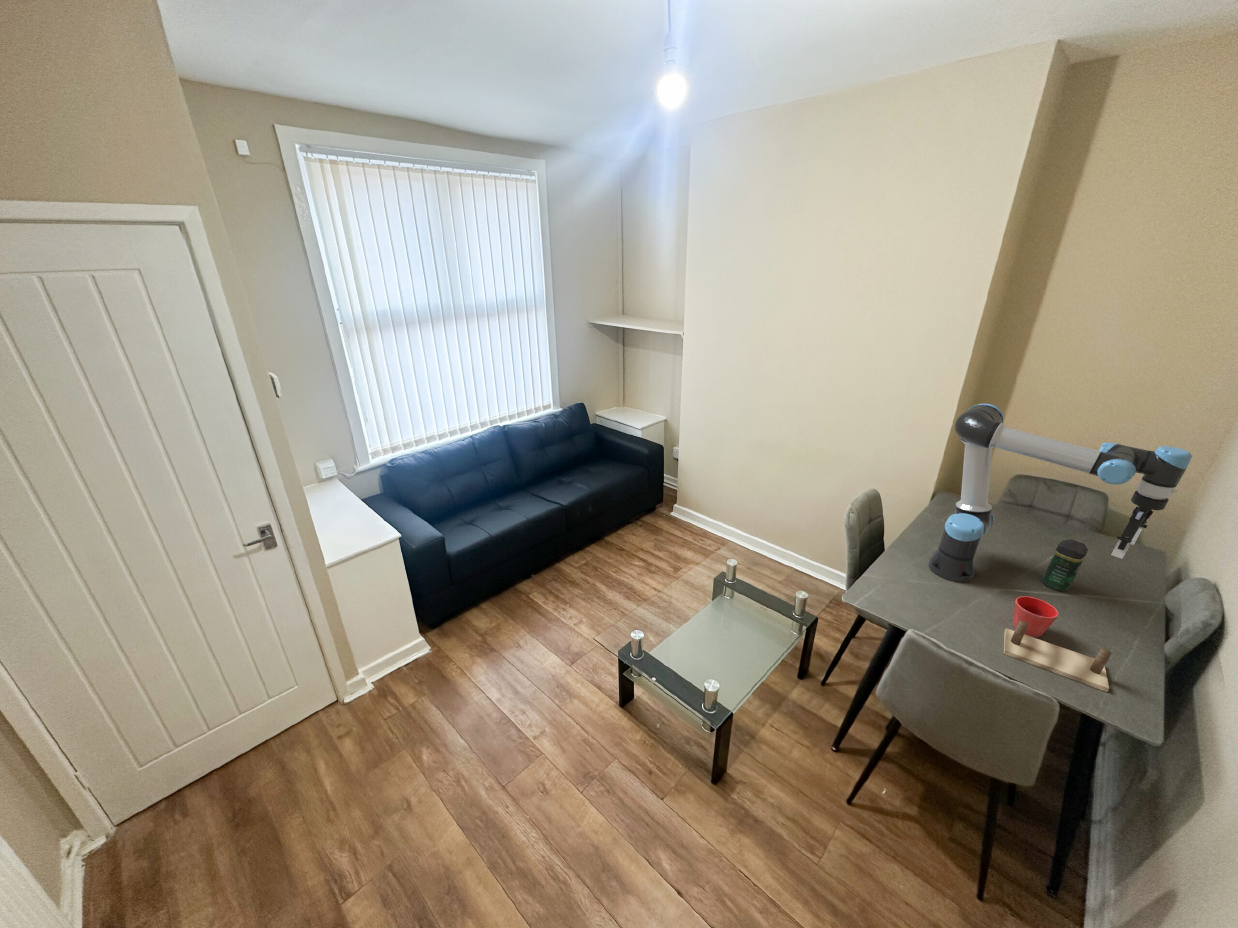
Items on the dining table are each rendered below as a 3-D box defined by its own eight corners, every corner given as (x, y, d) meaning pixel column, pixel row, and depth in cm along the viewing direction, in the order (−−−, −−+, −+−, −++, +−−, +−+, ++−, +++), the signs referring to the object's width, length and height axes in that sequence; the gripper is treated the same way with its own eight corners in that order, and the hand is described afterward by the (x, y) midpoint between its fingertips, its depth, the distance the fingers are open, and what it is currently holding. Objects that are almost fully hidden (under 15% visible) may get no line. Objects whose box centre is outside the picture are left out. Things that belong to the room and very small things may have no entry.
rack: (1003, 653, 150) (1013, 631, 146) (1004, 631, 158) (1013, 609, 154) (1107, 692, 136) (1121, 668, 132) (1101, 665, 145) (1114, 642, 141)
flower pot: (1007, 612, 166) (1016, 591, 162) (1047, 626, 160) (1058, 604, 156) (1005, 630, 159) (1015, 608, 155) (1048, 645, 152) (1059, 622, 148)
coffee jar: (1064, 595, 174) (1084, 553, 166) (1038, 583, 180) (1056, 543, 172) (1073, 585, 179) (1092, 544, 171) (1047, 574, 185) (1065, 534, 177)
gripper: (1159, 511, 140) (1127, 568, 149) (1178, 488, 152) (1147, 542, 161) (1125, 500, 145) (1096, 556, 154) (1145, 479, 158) (1118, 532, 167)
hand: (1122, 549), depth 158 cm, fingers open, 13 cm apart
